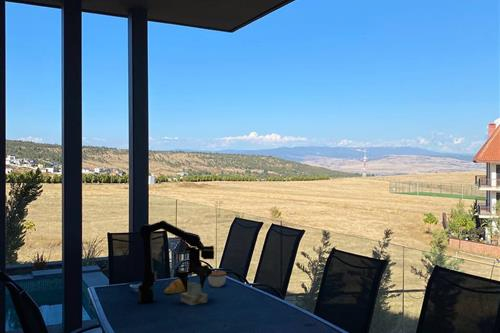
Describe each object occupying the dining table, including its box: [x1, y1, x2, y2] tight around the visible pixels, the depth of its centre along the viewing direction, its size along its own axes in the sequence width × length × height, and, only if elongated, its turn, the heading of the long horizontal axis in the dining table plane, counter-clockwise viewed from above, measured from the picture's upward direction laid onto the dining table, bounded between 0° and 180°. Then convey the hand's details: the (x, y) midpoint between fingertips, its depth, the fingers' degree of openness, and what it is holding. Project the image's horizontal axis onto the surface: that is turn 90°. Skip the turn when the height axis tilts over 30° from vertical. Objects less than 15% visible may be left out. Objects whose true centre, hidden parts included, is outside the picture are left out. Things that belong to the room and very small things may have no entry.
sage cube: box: [186, 282, 202, 296], centre depth 241 cm, size 5×5×5 cm
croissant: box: [163, 278, 192, 295], centre depth 262 cm, size 21×10×8 cm, turn 147°
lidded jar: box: [207, 269, 227, 288], centre depth 274 cm, size 11×11×9 cm
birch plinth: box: [180, 291, 208, 306], centre depth 241 cm, size 10×10×4 cm
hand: (194, 289), depth 241 cm, fingers open, 9 cm apart
